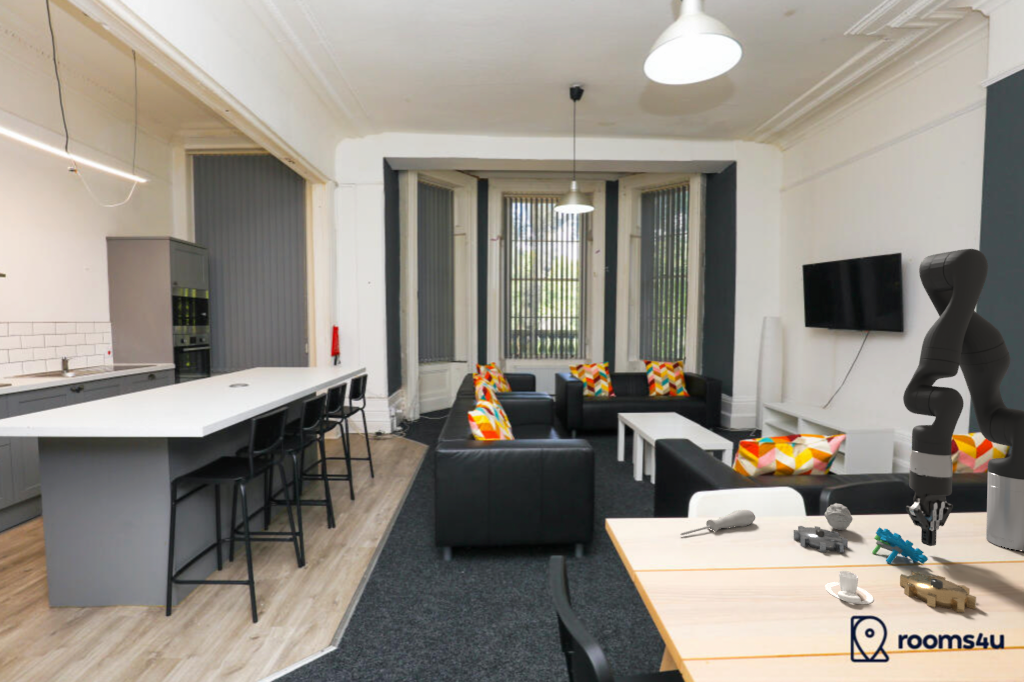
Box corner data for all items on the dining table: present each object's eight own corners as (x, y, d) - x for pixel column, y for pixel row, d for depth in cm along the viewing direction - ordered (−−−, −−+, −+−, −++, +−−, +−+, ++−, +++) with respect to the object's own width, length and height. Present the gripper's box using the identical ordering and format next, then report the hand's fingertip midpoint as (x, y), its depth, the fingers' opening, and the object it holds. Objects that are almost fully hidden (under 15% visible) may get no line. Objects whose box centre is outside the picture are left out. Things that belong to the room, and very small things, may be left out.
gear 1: (816, 530, 126) (816, 519, 126) (858, 549, 115) (859, 537, 115) (783, 536, 122) (783, 524, 122) (824, 556, 112) (824, 543, 112)
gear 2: (940, 565, 104) (906, 532, 104) (924, 586, 103) (891, 553, 104) (896, 549, 115) (865, 519, 115) (881, 568, 114) (851, 538, 114)
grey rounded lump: (824, 531, 125) (825, 505, 125) (824, 522, 131) (824, 497, 131) (853, 536, 122) (853, 509, 122) (851, 527, 128) (851, 501, 128)
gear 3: (906, 575, 103) (906, 561, 103) (979, 597, 94) (979, 582, 94) (894, 594, 95) (894, 579, 95) (971, 620, 87) (972, 603, 87)
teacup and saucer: (857, 611, 90) (857, 590, 90) (814, 591, 97) (814, 571, 97) (882, 599, 94) (882, 579, 94) (839, 581, 101) (839, 562, 101)
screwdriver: (675, 541, 124) (672, 524, 125) (746, 521, 133) (743, 506, 134) (688, 545, 119) (685, 527, 120) (761, 524, 129) (757, 508, 130)
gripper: (931, 464, 118) (929, 534, 118) (893, 469, 114) (891, 541, 114) (968, 473, 111) (966, 547, 111) (929, 478, 107) (927, 555, 107)
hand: (928, 544), depth 113 cm, fingers closed
